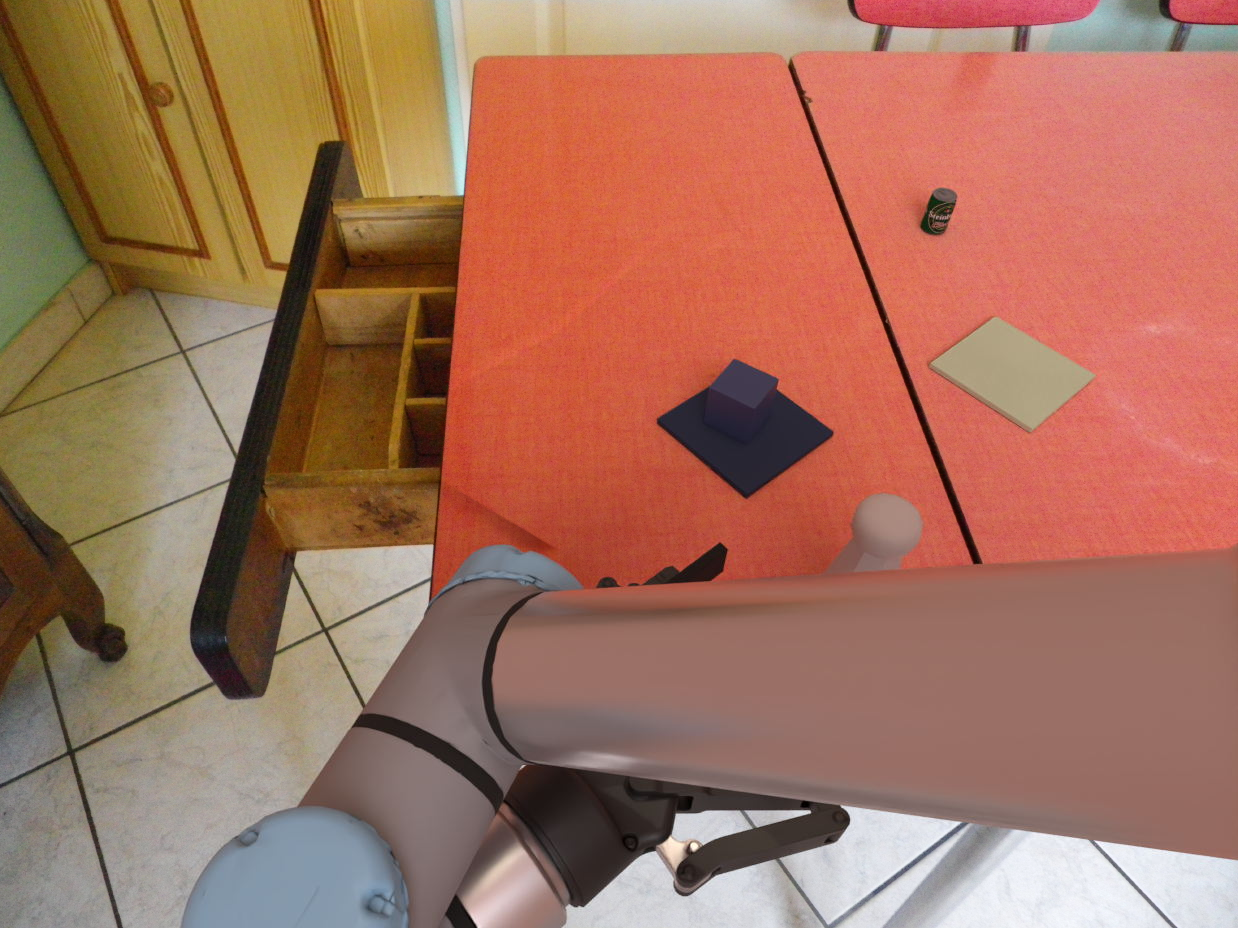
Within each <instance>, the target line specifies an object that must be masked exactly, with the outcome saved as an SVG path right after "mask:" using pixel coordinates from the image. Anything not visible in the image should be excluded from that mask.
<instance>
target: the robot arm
mask: <svg viewBox="0 0 1238 928" xmlns="http://www.w3.org/2000/svg"><path fill="white" fill-rule="evenodd" d="M728 552H729V548H727V546H726V545H724V544H723V543H722V542H721V541H719V542H718V543H717V544H715V545H714V546H712V547H711V548H710V549H709V550H707V551H706V552H704V553H703V554H702V555H700V556H699V557H698V558H696V559H695V560H693V562H691V563H690V564H688V565H687V566H686V567H685V568H683V569H682V570H681V571H679V570H678V569H677V568H676V566H674V565H669V566H666V567H664V568H662V569H661V570H660V571H659V572H657V573H656V574H655V575H653V576H651V577H650V578H649V579H648V580H646V581H645V582H643V583H642V584H640V583H637V582H631V583H628V584H627V585H626V586H621V585H620V584H618V581H617V580H616V579H615V578H613V577H612V576H604V577H602V578H601V579H600V580H599V581H598V583H597V585H596V587H595V588H585V587H584V585H582V583H581V582H580V581H579V580H578V578H576V576H574V574H572V573H571V572H570V571H569V570H567V569H566V568H565V567H564V566H563V565H560V564H559V563H558V562H557V561H555V560H553V559H551V558H550V557H548V556H546V555H544V554H542V553H539V552H537V551H534V550H528V551H526V552H524V551H522V550H521V549H519V548H517V547H516V546H514V545H511V544H504V543H503V544H491V545H486V546H484V547H481V548H478V549H476V550H475V551H473V552H472V553H471V554H469V555H468V556H467V557H466V558H465V560H463V562H462V563H461V565H460V566H459V568H457V570H456V572H455V573H454V574H453V576H452V577H451V578H450V579H449V581H447V583H446V585H444V586H443V587H441V589H439V591H438V593H437V594H436V595H435V596H433V597H432V598H431V599H430V601H429V603H428V605H427V607H426V609H425V611H424V613H423V618H422V619H421V620H420V623H419V624H418V625H417V627H416V629H415V630H414V632H413V633H412V635H411V636H410V637H409V639H408V641H407V642H406V644H405V645H404V646H403V648H402V650H401V651H400V653H399V654H398V656H397V657H396V659H395V660H394V662H393V663H392V665H391V666H390V668H389V669H388V671H387V672H386V674H385V675H384V676H383V678H382V680H381V682H380V683H379V684H378V686H377V687H376V689H375V691H374V692H373V693H372V695H371V696H370V698H369V699H368V700H367V702H366V704H365V706H364V707H363V708H362V710H361V711H360V713H359V714H358V716H357V718H356V720H355V721H354V722H353V724H352V725H351V726H350V729H348V730H347V731H346V733H345V735H344V736H343V738H342V739H341V740H340V742H339V743H338V745H337V746H336V748H335V750H334V751H333V752H332V754H331V755H330V757H329V759H328V760H327V761H326V763H325V764H324V766H323V767H322V768H321V770H320V772H319V773H318V775H317V776H316V778H315V779H314V780H313V782H312V783H311V785H310V786H309V788H308V790H307V791H306V792H305V794H304V795H303V797H302V798H301V800H300V802H299V803H298V805H297V806H293V807H288V808H284V809H281V810H278V811H275V812H273V813H270V814H267V815H265V816H264V817H262V818H260V819H259V820H258V821H257V822H255V823H254V824H251V825H250V826H247V827H246V828H245V829H243V830H242V831H241V832H240V833H239V834H238V835H235V836H234V837H232V838H231V839H230V840H229V841H227V842H226V843H224V844H223V845H222V846H221V847H220V848H219V849H218V850H217V851H216V852H215V854H213V856H212V857H211V859H210V860H209V862H208V863H207V864H206V865H205V867H204V869H203V870H202V871H201V873H200V875H199V876H198V878H197V880H196V882H195V883H194V886H193V887H192V890H191V892H190V894H189V896H188V898H187V901H186V904H185V907H184V910H183V915H182V918H181V923H180V926H179V928H563V927H564V926H565V925H566V924H567V919H568V913H567V907H568V906H569V905H570V906H571V907H573V908H579V907H580V908H585V907H586V906H587V905H588V904H589V903H590V902H591V901H592V900H594V899H595V898H596V897H597V896H598V895H599V894H600V893H601V892H602V891H603V890H604V889H606V888H607V887H608V886H609V885H610V884H611V883H612V882H613V881H614V880H615V879H616V878H618V876H620V874H622V873H623V872H624V871H625V870H626V869H627V868H629V866H630V865H632V864H633V863H634V862H635V861H636V860H637V859H638V858H640V857H642V856H644V855H646V854H648V853H653V852H655V853H656V854H657V856H658V857H659V859H660V860H661V861H662V863H663V864H664V866H665V868H666V869H667V871H668V872H669V873H670V875H671V876H672V878H673V881H672V885H673V889H674V891H675V893H677V894H678V895H679V896H681V897H689V896H691V895H693V894H694V893H695V892H697V891H698V890H700V888H702V887H703V886H704V885H706V884H707V883H708V882H710V881H711V880H712V879H714V878H715V877H716V876H719V875H723V874H727V873H730V872H735V871H738V870H742V869H745V868H749V867H752V866H755V865H759V864H763V863H767V862H771V861H775V860H778V859H781V858H786V857H789V856H793V855H796V854H800V853H803V852H807V851H810V850H811V851H812V850H815V849H818V848H823V847H825V846H829V845H833V844H835V843H838V841H839V840H840V839H841V837H842V836H843V835H844V833H845V832H846V830H847V829H848V828H849V826H850V825H851V816H850V814H849V812H848V811H847V810H846V809H845V808H844V807H848V808H855V809H856V808H857V809H863V810H870V811H878V812H885V813H892V814H893V813H894V814H900V815H906V816H915V817H923V818H928V819H929V818H930V819H936V820H937V819H938V820H941V821H942V820H943V821H950V822H956V823H957V822H958V823H964V824H972V825H977V826H979V825H980V826H987V827H993V828H1001V829H1008V830H1015V831H1023V832H1031V833H1037V834H1043V835H1052V836H1058V837H1064V838H1065V837H1066V838H1073V839H1081V840H1087V841H1094V842H1102V843H1107V844H1108V843H1109V844H1116V845H1122V846H1131V847H1137V848H1144V849H1145V848H1146V849H1153V850H1158V851H1166V852H1167V851H1168V852H1174V853H1181V854H1189V855H1195V856H1203V857H1210V858H1216V859H1217V858H1218V859H1224V860H1233V861H1238V542H1237V543H1235V544H1233V545H1232V546H1230V547H1225V548H1224V547H1223V548H1210V549H1209V548H1208V549H1193V550H1192V549H1191V550H1177V551H1176V550H1175V551H1161V552H1146V553H1131V554H1130V553H1129V554H1128V553H1127V554H1115V555H1100V556H1099V555H1097V556H1085V557H1084V556H1083V557H1069V558H1053V559H1051V558H1050V559H1037V560H1020V561H1006V562H991V563H990V562H989V563H974V564H959V565H958V564H957V565H942V566H941V565H940V566H925V567H913V568H912V567H911V568H909V567H908V568H900V569H894V570H878V571H862V572H847V573H831V574H822V573H819V574H818V573H817V574H815V573H814V574H802V575H787V576H771V577H770V576H769V577H755V578H754V577H753V578H739V579H723V580H714V579H716V578H717V577H718V576H720V575H721V574H722V573H723V572H724V570H725V565H726V560H727V556H728ZM523 765H524V766H523ZM522 766H523V767H522ZM842 806H843V807H842ZM714 811H717V812H720V811H721V812H722V811H723V812H725V811H726V812H727V811H728V812H729V811H730V812H732V811H733V812H734V811H736V812H737V811H740V812H741V811H743V812H745V811H746V812H747V811H751V812H753V811H754V812H757V811H758V812H759V811H762V812H763V811H765V812H767V811H776V812H778V811H781V812H782V811H787V812H788V811H809V813H806V814H802V815H798V816H795V817H791V818H787V819H783V820H781V821H776V822H772V823H768V824H765V825H761V826H757V827H753V828H750V829H746V830H742V831H739V832H735V833H730V834H727V835H723V836H720V837H716V838H714V839H712V840H710V841H708V842H706V843H705V844H703V843H702V842H701V841H699V840H698V839H696V838H690V839H686V840H683V841H682V840H678V839H676V838H675V837H673V831H674V827H675V821H676V817H677V816H676V815H679V814H680V815H682V814H684V815H689V814H690V815H691V814H692V815H694V814H696V815H697V814H701V813H704V812H714Z"/></svg>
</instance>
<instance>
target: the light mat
mask: <svg viewBox="0 0 1238 928" xmlns="http://www.w3.org/2000/svg"><path fill="white" fill-rule="evenodd" d="M928 369H930V370H932V371H933V372H935V373H937V374H938V375H939V376H941V377H943V378H944V379H946V380H948V381H949V382H951V383H952V384H953V385H955V386H957V387H958V388H960V389H961V390H963V391H964V392H965V393H967V394H969V395H971V396H972V397H974V398H975V399H977V400H978V401H979V402H981V403H983V404H984V405H986V406H987V407H989V408H990V409H992V410H993V411H995V412H997V413H998V414H1000V415H1001V416H1003V417H1004V418H1006V419H1008V420H1009V421H1011V422H1012V423H1014V424H1015V425H1017V426H1019V428H1021V429H1022V430H1024V431H1026V432H1027V433H1029V434H1032V433H1033V432H1034V431H1035V430H1036V429H1037V428H1038V427H1039V426H1041V425H1042V424H1043V423H1044V422H1045V421H1046V420H1048V419H1049V418H1050V417H1051V416H1053V414H1055V413H1056V412H1057V411H1058V410H1059V409H1060V408H1061V407H1063V406H1064V405H1065V404H1066V403H1068V402H1069V401H1070V400H1071V399H1072V398H1073V397H1074V396H1075V395H1077V394H1078V393H1079V392H1081V391H1082V389H1084V388H1085V387H1086V386H1087V385H1088V384H1090V383H1091V382H1093V380H1094V379H1095V377H1096V373H1094V372H1092V371H1090V370H1089V369H1087V368H1085V367H1083V366H1082V365H1080V364H1078V363H1077V362H1075V361H1073V360H1071V359H1070V358H1069V357H1067V356H1064V355H1063V354H1061V353H1060V352H1058V351H1056V350H1055V349H1053V348H1051V347H1049V346H1047V345H1046V344H1044V343H1042V342H1041V341H1039V340H1038V339H1036V338H1034V337H1033V336H1031V335H1029V334H1028V333H1025V332H1024V331H1022V330H1021V329H1019V328H1017V327H1015V326H1014V325H1012V324H1010V323H1009V322H1007V321H1005V320H1003V319H1002V318H1000V317H998V316H996V315H995V316H994V317H992V318H990V319H989V320H987V321H986V322H985V323H984V324H982V325H980V327H978V328H976V330H974V331H972V332H971V333H969V335H967V336H966V337H964V338H963V339H962V340H959V342H957V343H956V344H955V345H953V346H951V348H949V349H948V350H946V351H945V352H944V353H942V354H941V355H939V356H938V357H936V358H935V359H933V361H931V362H930V363H929V365H928Z"/></svg>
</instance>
